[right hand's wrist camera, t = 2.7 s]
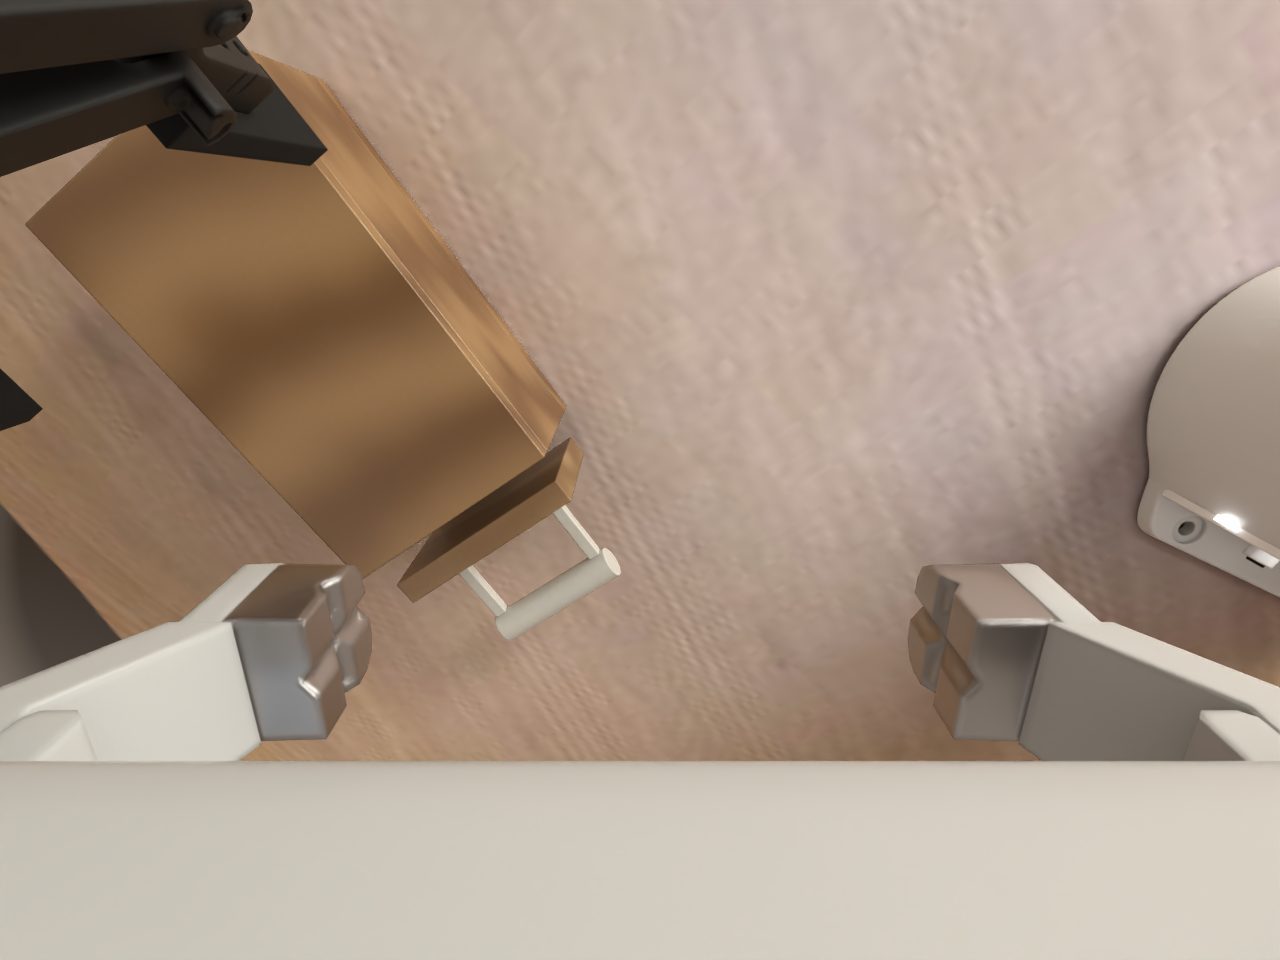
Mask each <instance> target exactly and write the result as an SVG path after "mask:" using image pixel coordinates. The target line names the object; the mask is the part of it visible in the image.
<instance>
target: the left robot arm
mask: <svg viewBox="0 0 1280 960" xmlns="http://www.w3.org/2000/svg"><path fill="white" fill-rule="evenodd" d="M252 12H253V10H252V6H251V3H250V2H249V1H248V0H0V177H1V176H4V175H7V174H10V173H13V172H15V171H18V170H21V169H24V168H27V167H29V166H32V165H35V164H38V163H41V162H43V161H46V160H49V159H52V158H55V157H57V156H60V155H63V154H66V153H69V152H71V151H74V150H77V149H80V148H83V147H85V146H88V145H91V144H94V143H97V142H99V141H102V140H105V139H108V138H111V137H113V136H116V135H119V134H122V133H125V132H127V131H130V130H133V129H136V128H139V127H141V126H144V125H146V126H147V127H148V128H149V129H150V130H151V132H152V133H153V134H154V135H155V136H156V137H157V139H158V140H159V141H160V142H161V143H162V144H163V145H164V147H165V148H166V149H174V150H182V151H190V152H198V153H207V154H215V155H223V156H231V157H239V158H247V159H256V160H264V161H272V162H280V163H288V164H296V165H305V166H311V165H312V164H313V163H314V162H315V161H316V160H318V159H319V158H320V157H321V156H322V155H323V154H324V153H325V152H326V151H327V150H328V149H327V148H326V147H325V145H324V144H323V143H322V141H321V140H320V139H319V138H318V136H317V135H316V134H315V133H314V131H313V130H312V129H311V128H310V126H309V125H308V124H307V123H306V121H305V120H304V119H303V118H302V116H301V115H300V114H299V112H298V111H297V110H296V109H295V107H294V106H293V105H292V104H291V102H290V101H289V100H288V99H287V97H286V96H285V95H284V94H283V92H282V91H281V90H280V89H279V87H278V86H277V85H276V83H275V82H274V81H273V80H272V78H271V77H270V76H269V75H268V73H267V72H266V71H265V70H264V68H263V67H262V66H261V65H260V64H259V63H257V62H256V60H255V59H254V58H253V57H252V55H251V54H250V53H249V52H248V50H247V49H246V48H245V47H244V45H243V44H242V43H241V42H240V40H239V39H238V38H237V35H238V34H239V33H240V32H241V31H242V30H244V28H245V27H246V25H247V24H248V23H249V21H250V19H251V16H252ZM41 410H42V408H41V407H40V406H39V405H38V404H37V403H36V402H35V401H34V400H33V399H32V398H31V397H30V396H29V395H28V394H27V393H26V392H24V391H23V390H22V389H21V388H20V387H19V386H18V385H17V384H16V383H15V382H14V381H13V380H12V379H11V378H10V377H9V376H8V375H7V374H5V373H4V372H3V371H2V370H1V369H0V431H1V430H4V429H7V428H10V427H13V426H16V425H19V424H22V423H25V422H28V421H30V420H31V419H32V418H33V417H34V416H35V415H36V414H37V413H39V412H40V411H41Z"/></svg>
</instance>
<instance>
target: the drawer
mask: <svg viewBox="0 0 1280 960" xmlns="http://www.w3.org/2000/svg"><path fill="white" fill-rule="evenodd" d="M583 456H584V454H583V453H582V451H581V450H580V449H579V447H578V446H577V445H576V444H575V442H574V441H573V440H572V438H569V439H567V440H566V441H564V442H563V443H561V444H560V445H558V446H557V447H555V448H554V449H552V450H551V451H549V452H548V453H546V455H545V457H544V458H543V459H541V460H540V461H538V462H537V463H535V464H534V465H532V466H531V467H529V468H528V469H526V470H525V471H523V472H522V473H520V474H519V475H517V476H516V477H514V478H513V479H511V480H510V481H508V482H507V483H505V484H504V485H502V486H501V487H499V488H498V489H497V490H495V491H494V492H492V493H491V494H489V495H488V496H486V497H485V498H483V499H482V500H480V501H479V502H477V503H476V504H474V505H473V506H471V507H470V508H468V509H467V510H465V511H464V512H462V513H461V514H459V515H458V516H456V517H455V518H453V519H452V520H450V521H449V522H447V523H446V524H444V525H443V526H441V527H440V528H438V529H437V530H435V531H434V532H432V534H431V535H430V537H429V538H428V540H427V541H426V543H425V544H424V546H423V547H422V549H421V550H420V552H419V553H418V555H417V556H416V558H415V559H414V560H413V562H412V563H411V565H410V566H409V568H408V569H407V571H406V572H405V574H404V575H403V577H402V578H401V580H400V581H399V583H398V584H397V586H398V587H399V588H400V589H401V590H402V591H403V592H404V594H405V595H406V596H407V597H408V598H409V599H410V600H411V601H412V602H413V603H414V602H416V601H417V600H419V599H420V598H422V597H423V596H425V595H426V594H428V593H429V592H431V591H433V590H434V589H436V588H437V587H439V586H440V585H442V584H443V583H445V582H446V581H448V580H450V579H451V578H453V577H454V576H456V575H457V574H459V575H460V576H461V577H462V578H463V579H464V580H465V581H466V583H467V584H468V585H469V586H470V587H471V588H472V589H473V590H474V592H475V593H476V594H477V595H478V596H479V597H480V598H481V600H482V601H483V602H484V603H485V604H486V605H487V606H488V607H489V609H490V610H491V611H492V612H493V613H494V614H495V615H496V616H495V623H496V627H497V629H498V631H499V632H500V634H501V635H502V636H503V637H504V638H505V639H507V640H513V639H515V638H517V637H518V636H520V635H522V634H523V633H525V632H527V631H528V630H530V629H531V628H533V627H535V626H536V625H538V624H540V623H541V622H543V621H545V620H546V619H548V618H550V617H551V616H553V615H555V614H556V613H558V612H560V611H561V610H563V609H565V608H566V607H568V606H570V605H571V604H573V603H574V602H576V601H578V600H579V599H581V598H583V597H584V596H586V595H588V594H589V593H591V592H593V591H594V590H596V589H598V588H599V587H601V586H603V585H604V584H606V583H608V582H609V581H611V580H612V579H614V578H616V577H617V576H619V575H620V574H621V570H620V566H619V564H618V562H617V560H616V558H615V557H614V555H613V554H612V553H611V552H610V551H609V550H608V549H607V548H603V549H601V550H600V549H599V547H598V546H597V545H596V544H595V542H594V541H593V540H592V539H591V537H590V536H589V535H588V533H587V532H586V531H585V530H584V528H583V527H582V526H581V525H580V523H579V522H578V521H577V520H576V518H575V517H574V516H573V514H572V513H571V512H570V511H569V509H568V508H567V507H566V506H565V505H566V504H567V503H569V502H570V501H571V499H572V496H573V492H574V488H575V485H576V481H577V478H578V474H579V470H580V467H581V463H582V459H583ZM552 513H553V514H554V516H555V517H556V518H557V519H558V521H559V522H560V523H561V524H562V526H563V527H564V528H565V529H566V531H567V532H568V533H569V534H570V536H571V537H572V538H573V539H574V541H575V542H576V543H577V544H578V546H579V547H580V548H581V549H582V551H583V552H584V553H585V554H586V556H587V557H588V558H587V559H585V560H583V561H582V562H580V563H579V564H577V565H575V566H574V567H572V568H570V569H569V570H567V571H566V572H564V573H562V574H561V575H559V576H558V577H556V578H554V579H553V580H551V581H549V582H548V583H546V584H545V585H543V586H541V587H540V588H538V589H537V590H535V591H533V592H532V593H530V594H528V595H527V596H525V597H524V598H522V599H520V600H519V601H517V602H516V603H514V604H512V605H511V606H509V607H507V605H506V604H505V602H504V601H503V600H502V599H501V598H500V597H499V596H498V594H497V593H496V592H495V591H494V590H493V589H492V587H491V586H490V585H489V584H488V583H487V582H486V581H485V579H484V578H483V577H482V576H481V575H480V574H479V573H478V571H477V570H476V569H475V568H474V567H473V566H472V565H473V564H474V563H476V562H477V561H479V560H481V559H482V558H484V557H485V556H487V555H488V554H490V553H491V552H493V551H495V550H496V549H498V548H499V547H501V546H502V545H504V544H505V543H507V542H508V541H510V540H512V539H513V538H515V537H516V536H518V535H519V534H521V533H522V532H524V531H525V530H527V529H529V528H530V527H532V526H533V525H535V524H536V523H538V522H539V521H541V520H543V519H544V518H546V517H547V516H549V515H550V514H552ZM599 550H600V551H599Z"/></svg>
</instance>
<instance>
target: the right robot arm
mask: <svg viewBox="0 0 1280 960" xmlns="http://www.w3.org/2000/svg"><path fill="white" fill-rule="evenodd" d="M1146 437H1147V450H1148V459H1149V479H1148V481H1147V484H1146V487H1145V490H1144V493H1143V496H1142V498H1141V502H1140V505H1139V509H1138V514H1137V523H1138V526H1139V528H1140V529H1141V530H1142V531H1143V532H1145V533H1146V534H1148V535H1150V536H1152V537H1154V538H1156V539H1158V540H1160V541H1163V542H1165V543H1167V544H1169V545H1171V546H1173V547H1175V548H1177V549H1179V550H1181V551H1183V552H1186V553H1188V554H1190V555H1192V556H1194V557H1196V558H1198V559H1200V560H1202V561H1204V562H1206V563H1209V564H1211V565H1213V566H1215V567H1217V568H1219V569H1221V570H1223V571H1225V572H1227V573H1229V574H1231V575H1234V576H1236V577H1238V578H1240V579H1242V580H1244V581H1246V582H1248V583H1250V584H1252V585H1254V586H1257V587H1259V588H1261V589H1263V590H1265V591H1267V592H1269V593H1271V594H1273V595H1275V596H1277V597H1280V266H1278V267H1276V268H1273V269H1271V270H1269V271H1267V272H1265V273H1263V274H1261V275H1259V276H1257V277H1255V278H1253V279H1251V280H1250V281H1248V282H1246V283H1245V284H1243V285H1241V286H1240V287H1238V288H1237V289H1235V290H1234V291H1232V292H1231V293H1230V294H1228V295H1227V296H1226V297H1224V298H1223V299H1222V300H1220V301H1219V302H1218V303H1217V304H1216V305H1215V306H1213V307H1212V308H1211V309H1210V310H1209V311H1208V312H1207V313H1206V314H1205V315H1204V316H1203V317H1202V318H1201V319H1200V320H1199V321H1198V322H1197V323H1196V324H1195V325H1194V326H1193V327H1192V328H1191V329H1190V331H1189V332H1188V333H1187V334H1186V335H1185V337H1184V338H1183V339H1182V341H1181V342H1180V343H1179V345H1178V346H1177V348H1176V349H1175V351H1174V352H1173V353H1172V355H1171V357H1170V358H1169V360H1168V362H1167V363H1166V365H1165V367H1164V369H1163V371H1162V373H1161V375H1160V378H1159V380H1158V382H1157V385H1156V387H1155V390H1154V393H1153V396H1152V400H1151V403H1150V408H1149V413H1148V419H1147V432H1146ZM1184 522H1185V524H1184V526H1183V527H1182V528H1180V529H1179V527H1180V525H1181V524H1183V523H1184ZM364 594H365V590H364V585H363V580H362V575H361V572H360V571H359V570H358V569H357V567H356V566H355V565H319V564H283V563H268V564H247V565H243V566H242V567H241V568H240V569H239V570H238V571H236V572H235V573H234V574H233V575H232V576H231V577H230V578H229V579H227V580H226V581H225V582H224V583H223V584H222V585H221V586H219V587H218V588H217V589H216V590H215V591H214V592H213V593H211V594H210V595H209V596H208V597H207V598H206V599H205V600H203V601H202V602H201V603H200V604H199V605H198V606H197V607H196V608H194V609H193V610H192V611H191V612H190V613H189V614H188V615H186V616H185V617H184V618H183V619H182V620H181V621H180V622H166V623H164V624H161V625H159V626H156V627H153V628H151V629H148V630H146V631H143V632H141V633H138V634H135V635H133V636H130V637H128V638H125V639H123V640H120V641H118V642H115V643H112V644H110V645H107V646H105V647H102V648H100V649H97V650H94V651H92V652H89V653H87V654H84V655H82V656H79V657H76V658H74V659H71V660H69V661H66V662H64V663H61V664H59V665H56V666H53V667H51V668H48V669H46V670H43V671H41V672H38V673H35V674H33V675H31V676H28V677H25V678H23V679H20V680H18V681H15V682H12V683H10V684H7V685H5V686H2V687H0V960H1280V687H1277V686H1275V685H1272V684H1270V683H1267V682H1265V681H1262V680H1260V679H1257V678H1254V677H1252V676H1249V675H1247V674H1244V673H1242V672H1239V671H1237V670H1234V669H1231V668H1229V667H1226V666H1224V665H1221V664H1219V663H1216V662H1214V661H1211V660H1208V659H1206V658H1203V657H1201V656H1198V655H1196V654H1193V653H1191V652H1188V651H1185V650H1183V649H1180V648H1178V647H1175V646H1173V645H1170V644H1167V643H1165V642H1162V641H1160V640H1157V639H1155V638H1152V637H1150V636H1147V635H1144V634H1142V633H1139V632H1137V631H1134V630H1132V629H1129V628H1127V627H1124V626H1121V625H1119V624H1116V623H1114V622H1100V621H1099V620H1098V619H1097V618H1096V617H1095V616H1094V615H1092V614H1091V613H1090V612H1089V611H1088V610H1087V609H1086V608H1085V607H1083V606H1082V605H1081V604H1080V603H1079V602H1078V601H1077V600H1075V599H1074V598H1073V597H1072V596H1071V595H1070V594H1069V593H1068V592H1066V591H1065V590H1064V589H1063V588H1062V587H1061V586H1060V585H1058V584H1057V583H1056V582H1055V581H1054V580H1053V579H1052V578H1051V577H1049V576H1048V575H1047V574H1046V573H1045V572H1044V571H1043V570H1041V569H1040V568H1039V567H1038V566H1037V565H1033V564H1029V563H1015V564H961V565H930V566H925V567H922V569H921V571H920V574H919V576H918V579H917V584H916V590H915V594H916V595H917V597H918V599H919V600H920V602H921V603H922V605H923V607H922V608H921V609H920V610H919V611H918V612H917V613H916V614H915V615H914V616H913V618H912V619H911V620H910V627H909V635H908V647H909V658H910V662H911V665H912V668H913V671H914V673H915V675H916V677H917V678H918V680H919V682H920V684H922V685H923V686H925V687H926V688H928V689H930V690H931V691H933V692H935V698H934V704H933V706H934V707H935V709H936V711H937V712H938V714H939V716H940V717H941V719H942V721H943V722H944V724H945V726H946V727H947V729H948V730H949V732H950V734H951V735H952V737H953V739H963V740H1001V741H1019V743H1018V744H1019V745H1021V746H1022V747H1024V748H1025V749H1026V750H1028V751H1029V752H1030V753H1032V754H1033V755H1034V756H1036V757H1037V758H1039V759H1040V760H1041V761H239V760H240V759H242V758H243V757H244V756H246V755H247V754H249V753H250V752H251V751H253V750H254V749H255V748H257V747H258V746H259V745H261V741H279V740H315V739H327V737H328V736H329V734H330V732H331V731H332V729H333V727H334V726H335V724H336V722H337V721H338V719H339V717H340V716H341V714H342V712H343V711H344V709H345V707H346V706H347V704H346V698H345V692H347V691H349V690H350V689H352V688H354V687H355V686H357V685H358V684H360V682H361V680H362V678H363V677H364V675H365V673H366V671H367V668H368V664H369V660H370V656H371V652H372V632H371V626H370V620H369V619H368V618H367V616H366V615H365V614H364V613H363V612H362V611H361V610H360V609H359V608H358V607H357V605H358V603H359V602H360V600H361V599H362V597H363V595H364Z"/></svg>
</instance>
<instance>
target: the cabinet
mask: <svg viewBox="0 0 1280 960" xmlns="http://www.w3.org/2000/svg"><path fill="white" fill-rule="evenodd" d="M248 52H249V53H250V54H251V55H252V57H253V58H254V59H255V60H256V62H257V63H259V64H260V65H261V66H262V67H263V68H264V70H265V71H266V72H267V73H268V75H269V76H270V77H271V78H272V80H273V81H274V82H275V83H276V85H277V86H278V87H279V89H280V90H281V91H282V92H283V94H284V95H285V96H286V97H287V99H288V100H289V101H290V102H291V104H292V105H293V106H294V107H295V109H296V110H297V111H298V112H299V114H300V115H301V116H302V118H303V119H304V120H305V121H306V123H307V124H308V125H309V126H310V128H311V129H312V130H313V131H314V133H315V134H316V135H317V136H318V138H319V139H320V140H321V141H322V143H323V144H324V145H325V147H326V148H327V149H328V150H327V151H326V152H325V153H324V154H323V155H322V156H321V157H320V158H319V159H318V160H316V161H315V162H314V163H313V164H312V165H311V166H305V165H296V164H288V163H280V162H272V161H264V160H256V159H247V158H239V157H231V156H223V155H215V154H207V153H198V152H190V151H182V150H174V149H166V148H165V147H164V145H163V144H162V143H161V142H160V141H159V140H158V139H157V137H156V136H155V135H154V134H153V133H152V132H151V130H150V129H149V128H148V127H147V126H146V125H144V126H141V127H139V128H136V129H133V130H130V131H127V132H125V133H122V134H119V135H117V136H116V137H115V138H114V139H113V140H112V141H111V142H110V143H109V144H108V145H107V146H106V147H105V148H104V149H102V150H101V151H100V152H99V153H98V154H97V155H96V156H95V157H94V158H93V159H92V160H91V161H90V162H89V163H88V164H87V165H86V166H85V167H84V168H83V169H82V170H81V171H80V172H79V173H78V174H77V175H75V176H74V177H73V178H72V179H71V180H70V181H69V182H68V183H67V184H66V185H65V186H64V187H63V188H62V189H61V190H60V191H59V192H58V193H57V194H56V195H55V196H54V197H53V198H52V199H51V200H50V201H48V202H47V203H46V204H45V205H44V206H43V207H42V208H41V209H40V210H39V211H38V212H37V213H36V214H35V215H34V216H33V217H32V218H31V219H30V220H29V221H28V222H27V223H26V224H25V225H26V226H27V227H28V228H29V229H30V230H31V231H32V233H33V234H34V235H35V236H36V237H37V238H38V239H39V240H40V241H41V242H42V243H43V244H44V245H45V246H46V247H47V248H48V249H49V251H50V252H51V253H52V254H53V255H54V256H55V257H56V258H57V259H58V260H59V261H60V262H61V263H62V264H63V265H64V266H65V268H66V269H67V270H68V271H69V272H70V273H71V274H72V275H73V276H74V277H75V278H76V279H77V280H78V281H79V282H80V283H81V284H82V286H83V287H84V288H85V289H86V290H87V291H88V292H89V293H90V294H91V295H92V296H93V297H94V298H95V299H96V300H97V301H98V302H99V304H100V305H101V306H102V307H103V308H104V309H105V310H106V311H107V312H108V313H109V314H110V315H111V316H112V317H113V318H114V319H115V321H116V322H117V323H118V324H119V325H120V326H121V327H122V328H123V329H124V330H125V331H126V332H127V333H128V334H129V335H130V336H131V337H132V339H133V340H134V341H135V342H136V343H137V344H138V345H139V346H140V347H141V348H142V349H143V350H144V351H145V352H146V353H147V354H148V355H149V357H150V358H151V359H152V360H153V361H154V362H155V363H156V364H157V365H158V366H159V367H160V368H161V369H162V370H163V371H164V372H165V374H166V375H167V376H168V377H169V378H170V379H171V380H172V381H173V382H174V383H175V384H176V385H177V386H178V387H179V388H180V389H181V390H182V392H183V393H184V394H185V395H186V396H187V397H188V398H189V399H190V400H191V401H192V402H193V403H194V404H195V405H196V406H197V407H198V408H199V410H200V411H201V412H202V413H203V414H204V415H205V416H206V417H207V418H208V419H209V420H210V421H211V422H212V423H213V424H214V425H215V427H216V428H217V429H218V430H219V431H220V432H221V433H222V434H223V435H224V436H225V437H226V438H227V439H228V440H229V441H230V442H231V443H232V445H233V446H234V447H235V448H236V449H237V450H238V451H239V452H240V453H241V454H242V455H243V456H244V457H245V458H246V459H247V460H248V461H249V463H250V464H251V465H252V466H253V467H254V468H255V469H256V470H257V471H258V472H259V473H260V474H261V475H262V476H263V477H264V478H265V480H266V481H267V482H268V483H269V484H270V485H271V486H272V487H273V488H274V489H275V490H276V491H277V492H278V493H279V494H280V495H281V496H282V498H283V499H284V500H285V501H286V502H287V503H288V504H289V505H290V506H291V507H292V508H293V509H294V510H295V511H296V512H297V513H298V514H299V516H300V517H301V518H302V519H303V520H304V521H305V522H306V523H307V524H308V525H309V526H310V527H311V528H312V529H313V530H314V531H315V533H316V534H317V535H318V536H319V537H320V538H321V539H322V540H323V541H324V542H325V543H326V544H327V545H328V546H329V547H330V548H331V549H332V551H333V552H334V553H335V554H336V555H337V556H338V557H339V558H340V559H341V560H342V561H343V562H344V563H345V564H346V565H355V566H356V567H357V569H358V570H359V571H360V572H361V575H362V579H364V578H365V577H367V576H368V575H370V574H371V573H373V572H374V571H376V570H377V569H379V568H380V567H382V566H383V565H385V564H386V563H388V562H389V561H391V560H392V559H394V558H395V557H397V556H398V555H399V554H401V553H402V552H404V551H405V550H407V549H408V548H410V547H411V546H413V545H414V544H416V543H417V542H419V541H420V540H422V539H423V538H425V537H426V536H428V535H429V534H431V533H432V532H434V531H435V530H437V529H438V528H440V527H441V526H443V525H444V524H446V523H447V522H449V521H450V520H452V519H453V518H455V517H456V516H458V515H459V514H461V513H462V512H464V511H465V510H467V509H468V508H470V507H471V506H473V505H474V504H476V503H477V502H479V501H480V500H482V499H483V498H485V497H486V496H488V495H489V494H491V493H492V492H494V491H495V490H497V489H498V488H499V487H501V486H502V485H504V484H505V483H507V482H508V481H510V480H511V479H513V478H514V477H516V476H517V475H519V474H520V473H522V472H523V471H525V470H526V469H528V468H529V467H531V466H532V465H534V464H535V463H537V462H538V461H540V460H541V459H543V458H544V457H545V455H546V452H547V451H548V448H549V446H550V444H551V441H552V439H553V437H554V434H555V432H556V430H557V427H558V425H559V423H560V420H561V418H562V416H563V413H564V411H565V409H566V405H565V403H564V402H563V401H562V399H561V398H560V397H559V395H558V394H557V393H556V391H555V390H554V389H553V387H552V386H551V385H550V383H549V382H548V381H547V379H546V378H545V377H544V375H543V374H542V373H541V371H540V370H539V369H538V367H537V366H536V365H535V363H534V362H533V361H532V359H531V358H530V357H529V355H528V354H527V353H526V351H525V350H524V349H523V347H522V346H521V345H520V343H519V342H518V341H517V339H516V338H515V337H514V335H513V334H512V332H511V331H510V330H509V328H508V327H507V326H506V324H505V323H504V322H503V320H502V319H501V318H500V316H499V315H498V314H497V312H496V311H495V310H494V308H493V307H492V306H491V304H490V303H489V302H488V300H487V299H486V298H485V296H484V295H483V294H482V292H481V291H480V290H479V288H478V287H477V286H476V284H475V283H474V282H473V280H472V279H471V278H470V276H469V275H468V274H467V272H466V271H465V270H464V268H463V267H462V266H461V264H460V263H459V262H458V260H457V259H456V258H455V256H454V255H453V254H452V252H451V251H450V250H449V248H448V247H447V245H446V244H445V243H444V241H443V240H442V239H441V237H440V236H439V235H438V233H437V232H436V231H435V229H434V228H433V227H432V225H431V224H430V223H429V221H428V220H427V219H426V217H425V216H424V215H423V213H422V212H421V211H420V209H419V208H418V207H417V205H416V204H415V203H414V201H413V200H412V199H411V197H410V196H409V195H408V193H407V192H406V191H405V189H404V188H403V187H402V185H401V184H400V183H399V181H398V180H397V179H396V177H395V176H394V175H393V173H392V172H391V171H390V169H389V168H388V167H387V165H386V164H385V163H384V161H383V160H382V158H381V157H380V156H379V154H378V153H377V152H376V150H375V149H374V148H373V146H372V145H371V144H370V142H369V141H368V140H367V138H366V137H365V136H364V134H363V133H362V132H361V130H360V129H359V128H358V126H357V125H356V124H355V122H354V121H353V120H352V118H351V117H350V116H349V114H348V113H347V112H346V110H345V109H344V108H343V106H342V105H341V104H340V102H339V101H338V100H337V98H336V97H335V96H334V94H333V93H332V92H331V90H330V89H329V88H328V86H327V85H326V84H325V82H324V81H323V80H322V79H319V78H317V77H314V76H312V75H309V74H307V73H304V72H302V71H299V70H297V69H294V68H292V67H289V66H287V65H284V64H282V63H279V62H277V61H274V60H272V59H269V58H267V57H264V56H262V55H259V54H257V53H254V52H252V51H249V50H248Z"/></svg>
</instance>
